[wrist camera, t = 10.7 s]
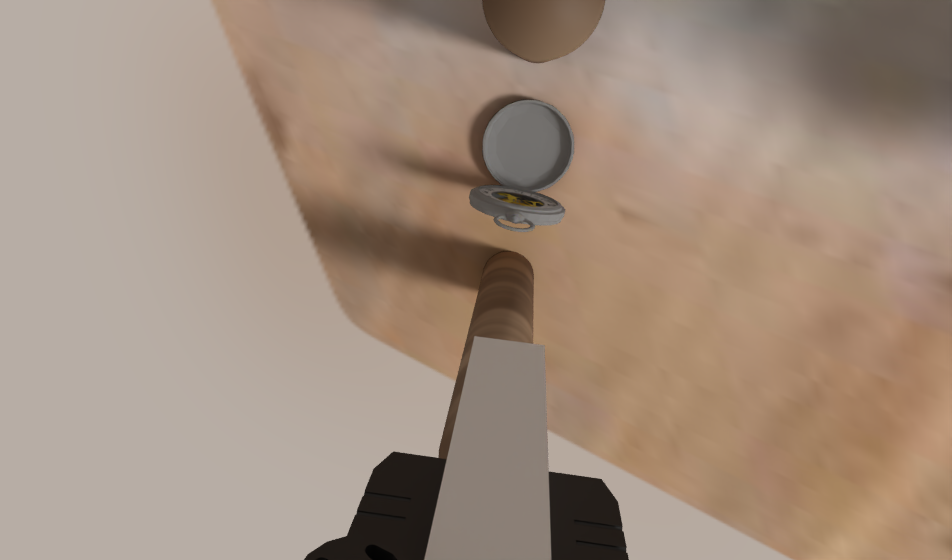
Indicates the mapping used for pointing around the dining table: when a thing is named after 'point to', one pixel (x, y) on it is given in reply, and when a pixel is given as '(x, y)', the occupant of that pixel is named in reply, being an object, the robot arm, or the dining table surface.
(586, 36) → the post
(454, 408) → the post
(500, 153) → the pocket watch
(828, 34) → the dining table surface
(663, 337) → the dining table surface
